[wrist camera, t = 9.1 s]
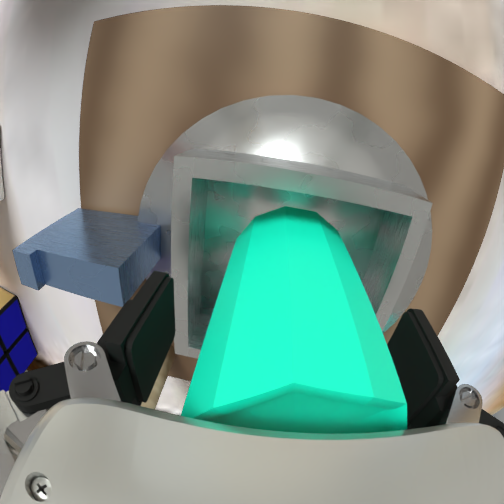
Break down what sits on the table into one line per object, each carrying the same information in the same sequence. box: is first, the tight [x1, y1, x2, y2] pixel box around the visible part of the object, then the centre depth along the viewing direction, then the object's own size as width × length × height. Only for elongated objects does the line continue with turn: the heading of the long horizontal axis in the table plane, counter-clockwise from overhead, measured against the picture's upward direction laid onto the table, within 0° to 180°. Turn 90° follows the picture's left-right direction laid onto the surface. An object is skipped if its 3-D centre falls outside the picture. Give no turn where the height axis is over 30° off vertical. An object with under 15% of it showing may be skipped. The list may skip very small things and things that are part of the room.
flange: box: [13, 95, 433, 359], centre depth 13 cm, size 22×17×6 cm
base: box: [79, 5, 504, 409], centre depth 14 cm, size 27×27×7 cm
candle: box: [181, 206, 407, 434], centre depth 10 cm, size 6×6×12 cm
